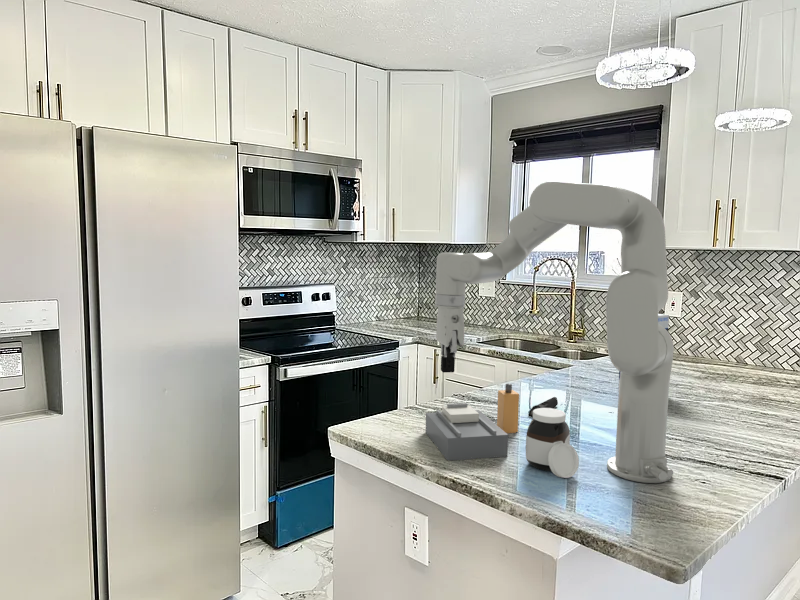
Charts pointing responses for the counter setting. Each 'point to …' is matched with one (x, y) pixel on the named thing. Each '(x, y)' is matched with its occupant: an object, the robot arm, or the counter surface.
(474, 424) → the socket
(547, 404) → the electric trimmer
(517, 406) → the plug
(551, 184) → the robot arm
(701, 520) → the counter surface
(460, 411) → the shutter
